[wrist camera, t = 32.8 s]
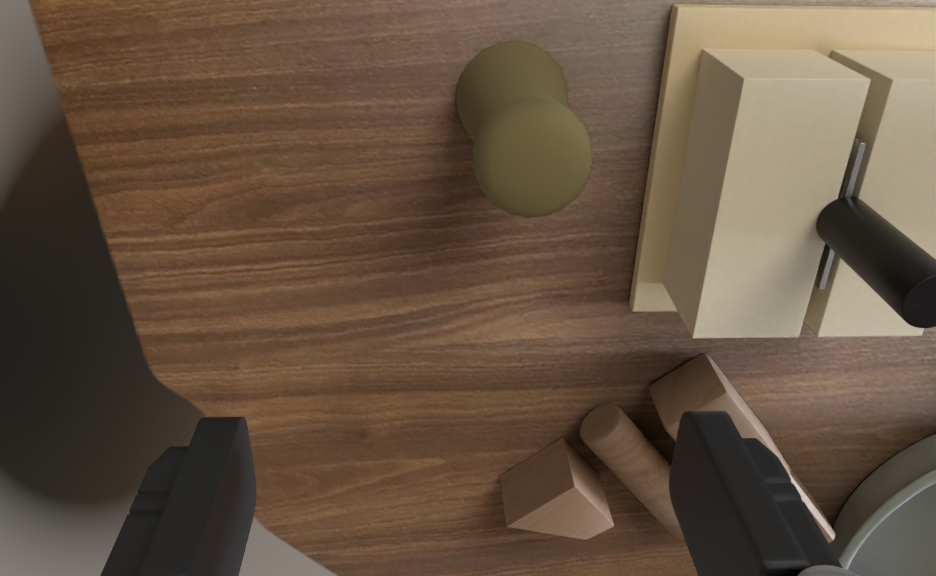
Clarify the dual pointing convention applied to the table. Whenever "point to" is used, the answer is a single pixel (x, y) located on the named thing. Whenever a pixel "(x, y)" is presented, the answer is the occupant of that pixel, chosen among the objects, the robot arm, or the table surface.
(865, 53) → the slotted fixture
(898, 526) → the cake pan
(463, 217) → the table surface
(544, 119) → the chess pawn figurine
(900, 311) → the knife
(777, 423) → the table surface
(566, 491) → the wooden block set
